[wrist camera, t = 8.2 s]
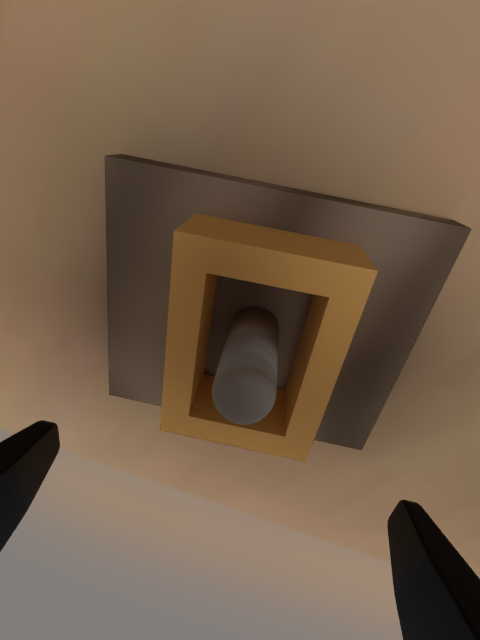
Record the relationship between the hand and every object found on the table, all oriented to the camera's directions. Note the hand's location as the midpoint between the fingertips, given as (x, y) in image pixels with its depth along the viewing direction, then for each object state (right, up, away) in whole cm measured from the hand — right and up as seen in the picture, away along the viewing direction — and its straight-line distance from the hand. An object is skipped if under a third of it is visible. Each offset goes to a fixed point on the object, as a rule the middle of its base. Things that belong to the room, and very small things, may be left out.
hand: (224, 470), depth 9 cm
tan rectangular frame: (+1, +4, +7) cm, 8 cm away
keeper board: (+1, +4, +8) cm, 9 cm away
